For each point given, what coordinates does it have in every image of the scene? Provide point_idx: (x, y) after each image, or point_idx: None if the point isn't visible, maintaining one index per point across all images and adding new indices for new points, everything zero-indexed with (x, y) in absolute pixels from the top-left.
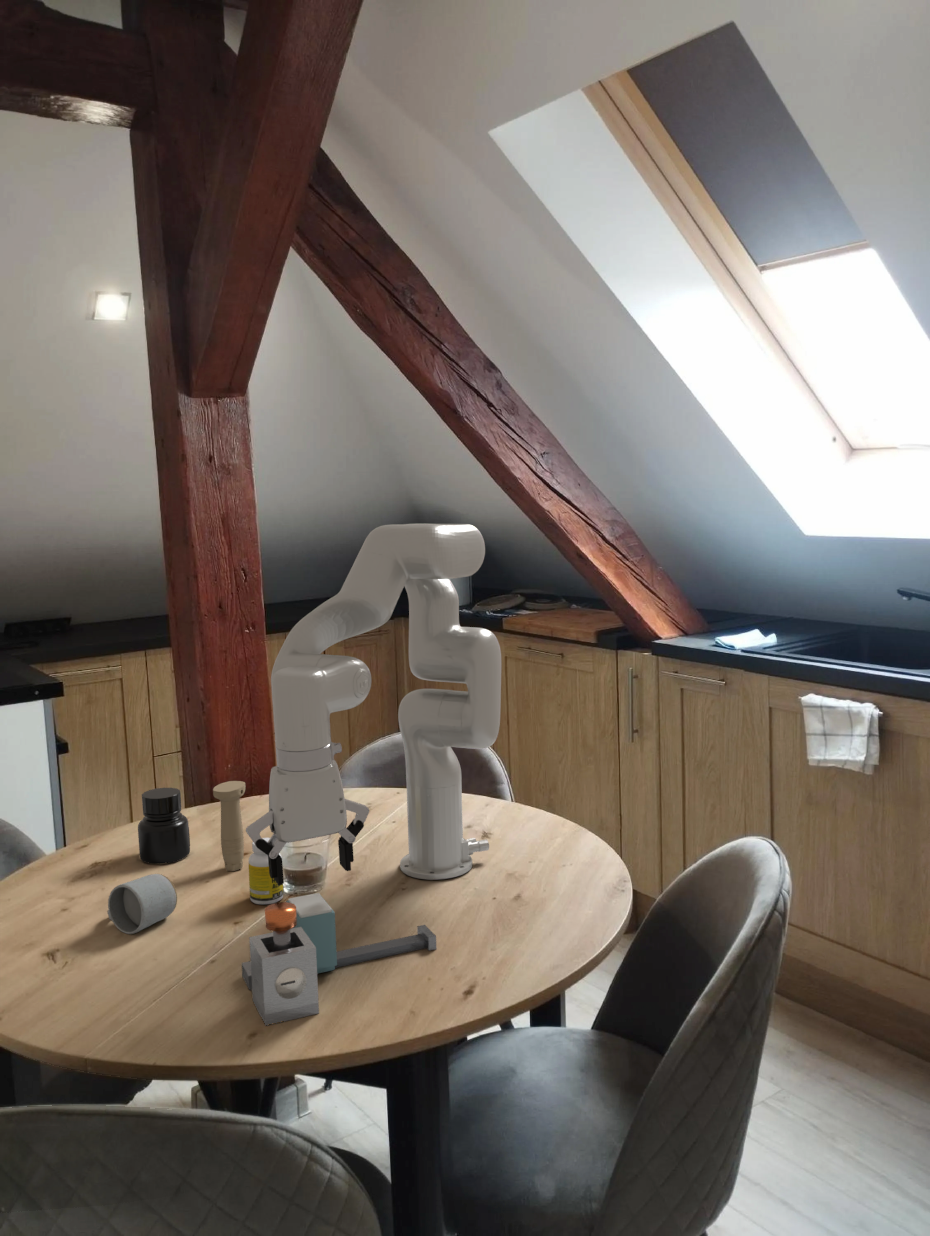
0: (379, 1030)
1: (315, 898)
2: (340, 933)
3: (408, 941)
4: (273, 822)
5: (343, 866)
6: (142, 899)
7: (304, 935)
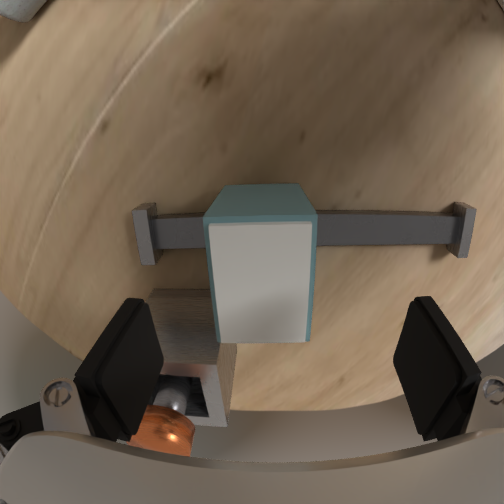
0: (291, 396)
1: (288, 262)
2: (355, 102)
3: (435, 235)
4: (6, 475)
5: (401, 343)
6: (3, 9)
7: (216, 394)
